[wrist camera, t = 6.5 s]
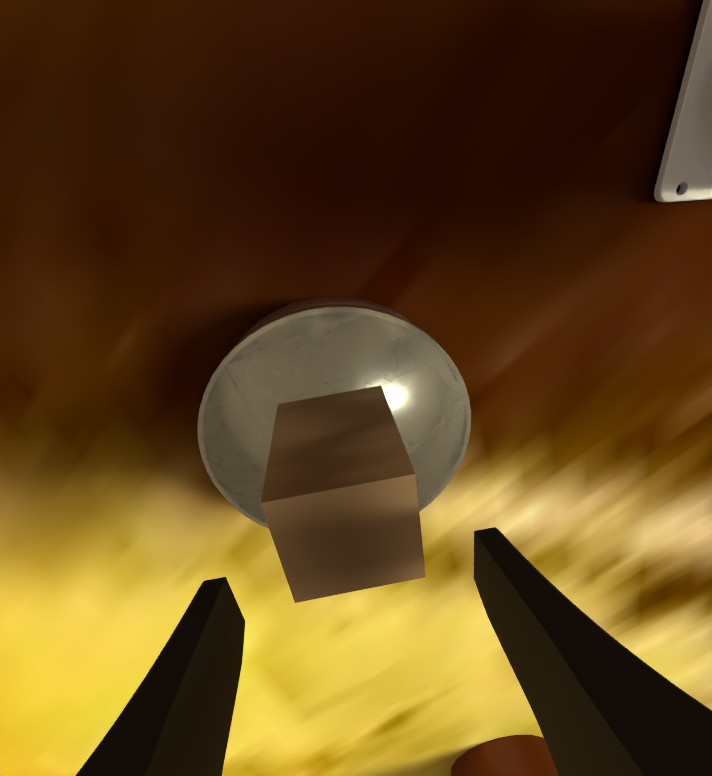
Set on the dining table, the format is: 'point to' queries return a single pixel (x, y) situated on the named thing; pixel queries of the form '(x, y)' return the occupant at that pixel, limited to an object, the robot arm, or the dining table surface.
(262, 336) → the biscuit tin
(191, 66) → the dining table surface
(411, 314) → the dining table surface
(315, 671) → the dining table surface
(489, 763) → the potted plant
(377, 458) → the walnut block
